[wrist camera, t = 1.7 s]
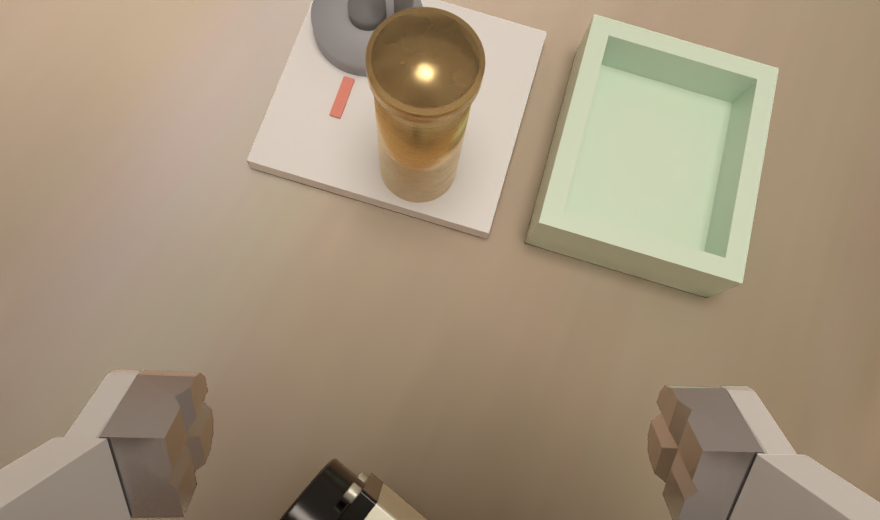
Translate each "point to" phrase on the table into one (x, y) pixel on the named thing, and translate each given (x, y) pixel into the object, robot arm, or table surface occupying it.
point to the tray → (656, 159)
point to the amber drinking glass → (422, 97)
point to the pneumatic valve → (348, 498)
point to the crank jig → (354, 121)
